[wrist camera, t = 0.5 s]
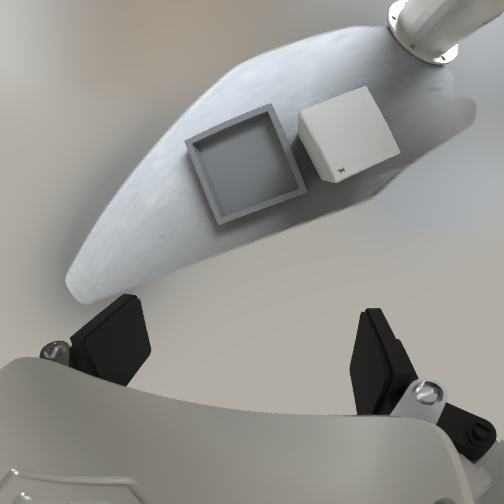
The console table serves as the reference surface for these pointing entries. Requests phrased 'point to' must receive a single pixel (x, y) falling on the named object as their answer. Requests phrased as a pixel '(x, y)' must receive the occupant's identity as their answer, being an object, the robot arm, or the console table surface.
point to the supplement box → (345, 135)
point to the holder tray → (245, 164)
